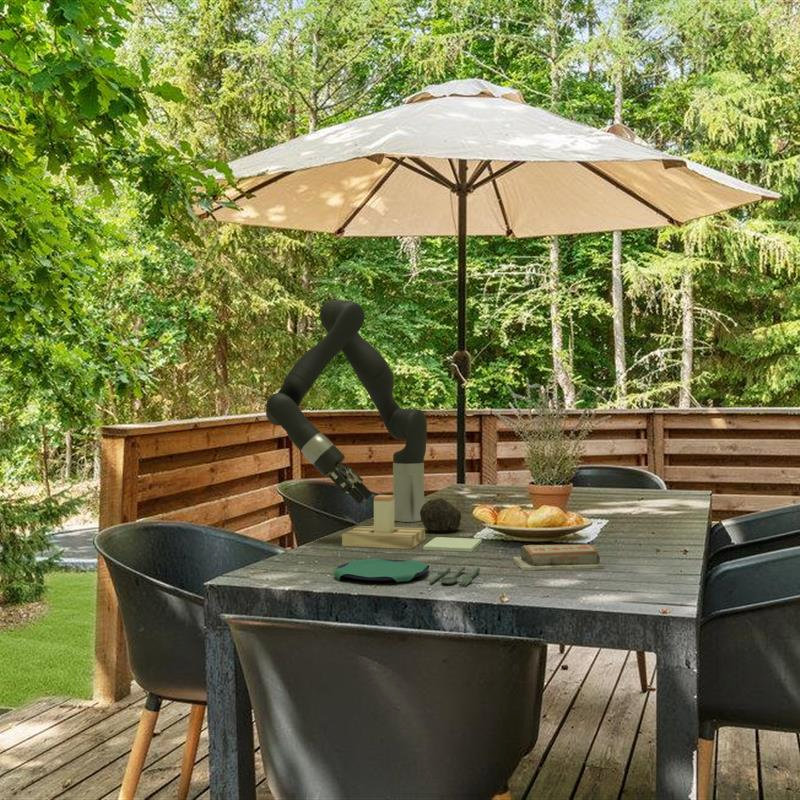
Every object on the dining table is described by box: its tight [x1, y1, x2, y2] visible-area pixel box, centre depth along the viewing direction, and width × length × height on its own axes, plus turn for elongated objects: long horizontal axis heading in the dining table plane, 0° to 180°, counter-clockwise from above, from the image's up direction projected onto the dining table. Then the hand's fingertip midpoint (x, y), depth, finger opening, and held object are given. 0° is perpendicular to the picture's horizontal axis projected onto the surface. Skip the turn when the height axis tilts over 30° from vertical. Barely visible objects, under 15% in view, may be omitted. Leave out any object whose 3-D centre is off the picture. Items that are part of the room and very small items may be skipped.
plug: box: [373, 494, 395, 534], centre depth 236 cm, size 5×4×12 cm
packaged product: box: [513, 544, 604, 572], centre depth 206 cm, size 18×5×10 cm
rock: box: [420, 497, 462, 533], centre depth 254 cm, size 10×11×10 cm
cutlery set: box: [333, 558, 481, 586], centre depth 194 cm, size 20×30×2 cm, turn 72°
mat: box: [422, 536, 482, 553], centre depth 231 cm, size 14×12×1 cm
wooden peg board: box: [341, 525, 426, 550], centre depth 236 cm, size 14×18×3 cm
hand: (366, 499), depth 237 cm, fingers open, 8 cm apart
